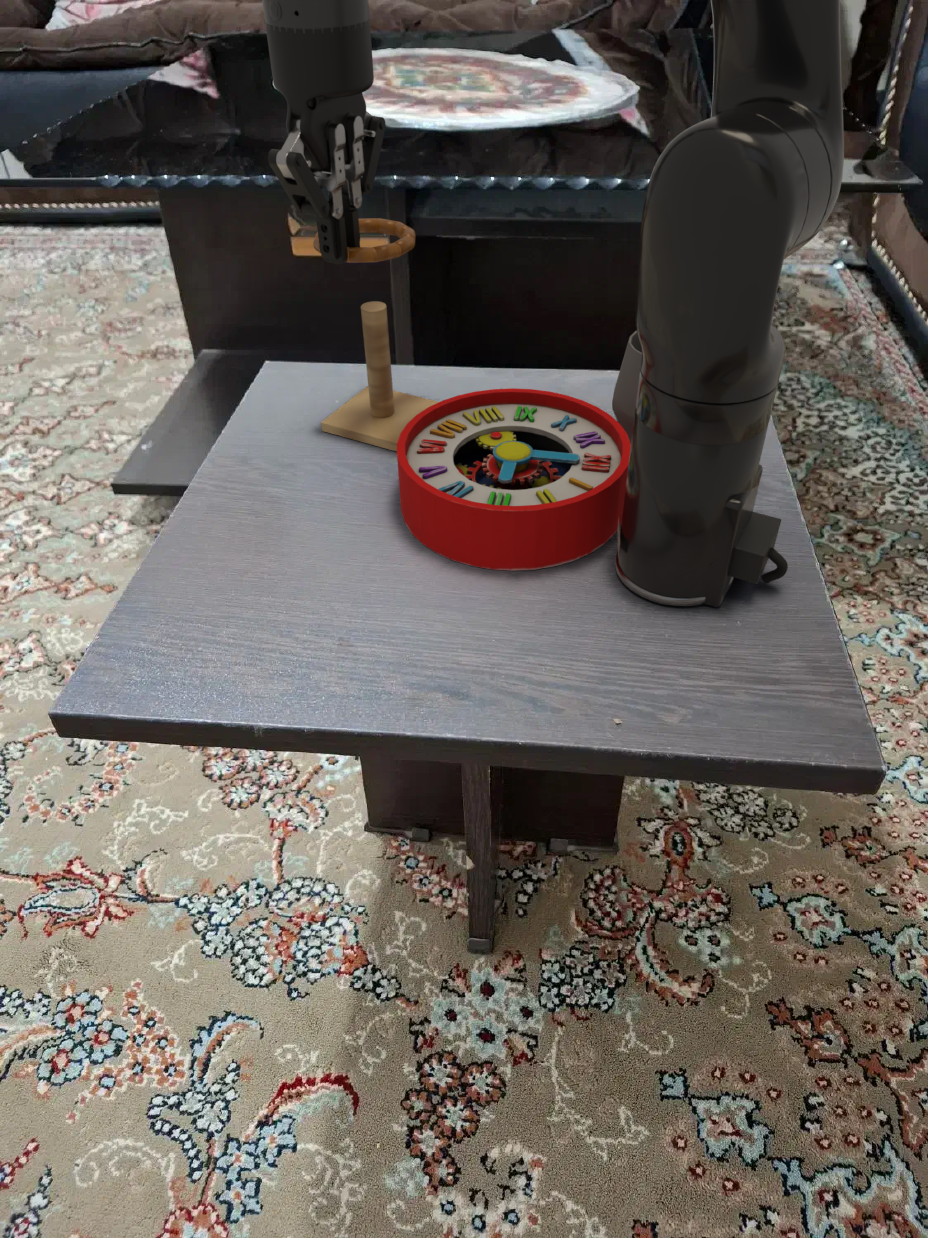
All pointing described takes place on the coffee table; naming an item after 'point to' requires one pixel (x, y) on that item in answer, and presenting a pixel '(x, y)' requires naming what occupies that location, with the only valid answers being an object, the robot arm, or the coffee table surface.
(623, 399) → the cup
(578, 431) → the toy clock
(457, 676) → the coffee table surface
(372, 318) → the wooden peg stand
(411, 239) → the ring
